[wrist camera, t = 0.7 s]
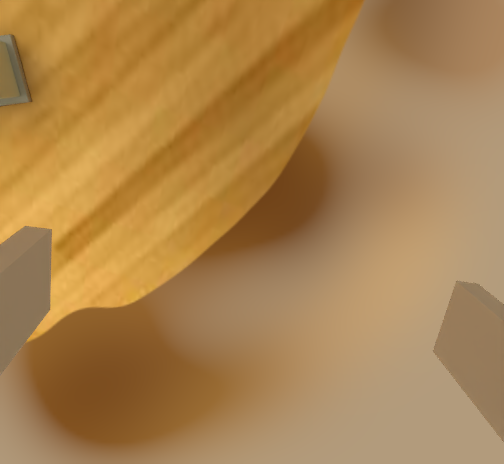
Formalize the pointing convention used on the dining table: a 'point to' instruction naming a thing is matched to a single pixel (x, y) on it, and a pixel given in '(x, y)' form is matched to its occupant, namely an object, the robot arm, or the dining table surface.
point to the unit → (11, 74)
